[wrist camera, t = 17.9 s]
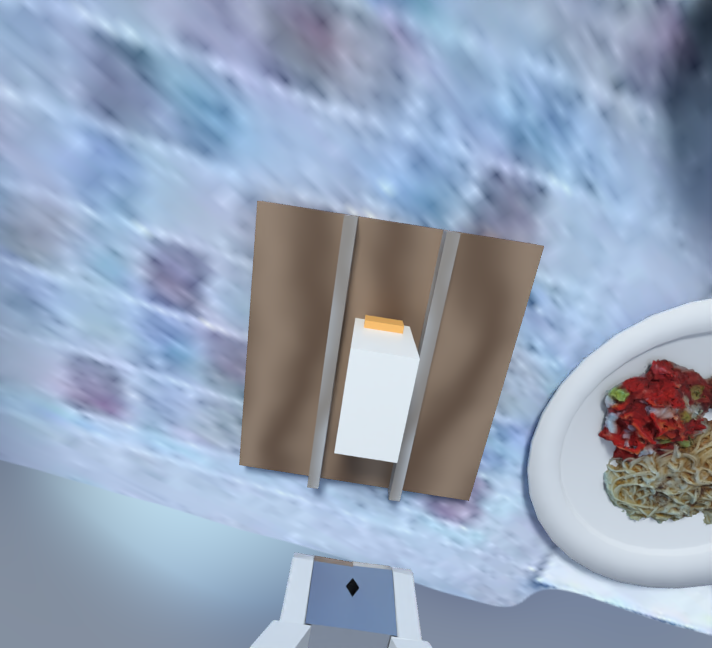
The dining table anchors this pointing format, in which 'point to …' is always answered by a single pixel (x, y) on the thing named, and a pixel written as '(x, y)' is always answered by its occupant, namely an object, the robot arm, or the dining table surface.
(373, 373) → the rail module
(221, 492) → the dining table surface
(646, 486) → the plated food
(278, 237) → the rail panel
